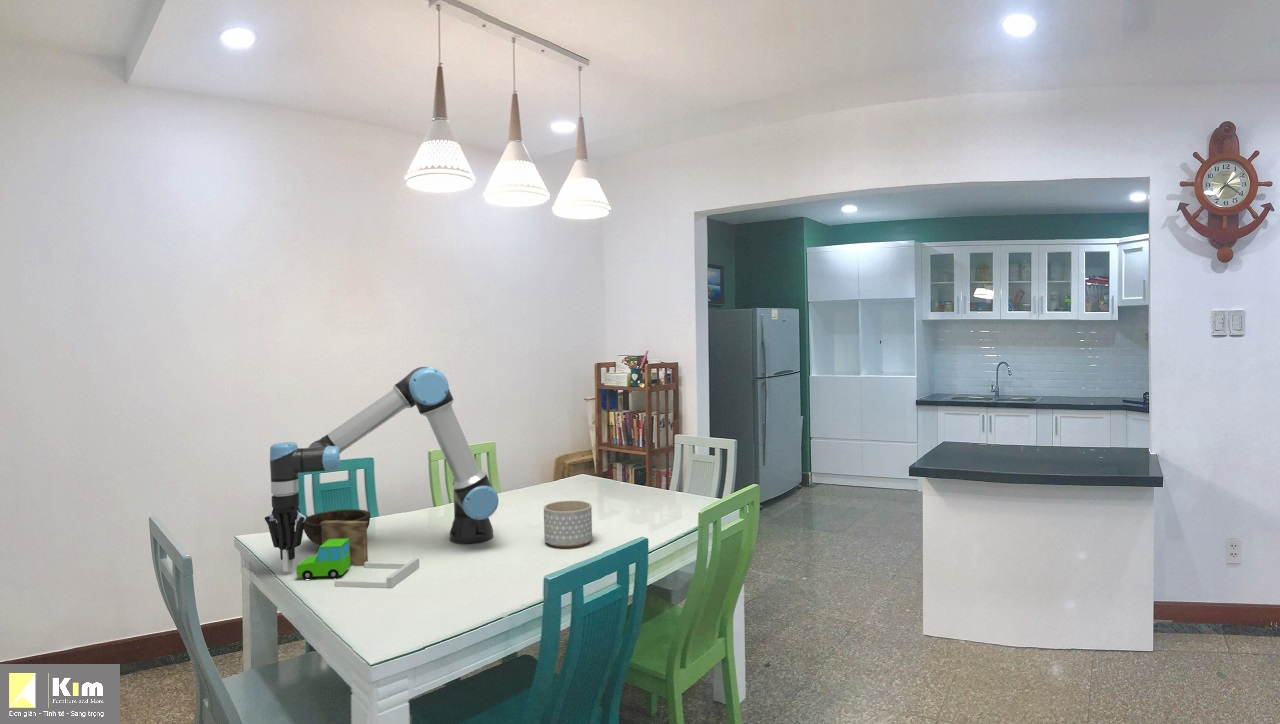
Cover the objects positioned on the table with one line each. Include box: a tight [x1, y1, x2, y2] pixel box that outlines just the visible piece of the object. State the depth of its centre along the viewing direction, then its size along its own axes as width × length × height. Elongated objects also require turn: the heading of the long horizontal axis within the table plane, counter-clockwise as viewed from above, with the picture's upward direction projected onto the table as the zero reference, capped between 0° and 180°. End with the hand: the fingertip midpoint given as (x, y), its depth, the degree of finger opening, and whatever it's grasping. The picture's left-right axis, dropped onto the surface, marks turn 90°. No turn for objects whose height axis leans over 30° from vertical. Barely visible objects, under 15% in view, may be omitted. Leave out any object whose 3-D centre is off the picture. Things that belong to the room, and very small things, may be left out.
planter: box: [543, 500, 593, 549], centre depth 246 cm, size 16×16×13 cm
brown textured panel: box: [320, 520, 369, 567], centre depth 226 cm, size 15×3×14 cm, turn 83°
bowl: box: [303, 509, 371, 547], centre depth 248 cm, size 22×22×10 cm
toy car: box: [295, 538, 351, 580], centre depth 216 cm, size 10×13×10 cm
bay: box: [334, 557, 420, 589], centre depth 214 cm, size 18×18×3 cm
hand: (288, 569), depth 218 cm, fingers closed
